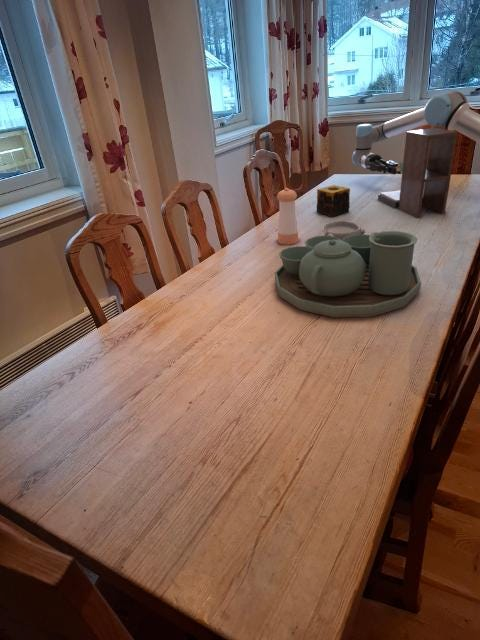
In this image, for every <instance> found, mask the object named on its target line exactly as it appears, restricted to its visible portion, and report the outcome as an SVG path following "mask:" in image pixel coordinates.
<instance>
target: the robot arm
mask: <svg viewBox="0 0 480 640" xmlns="http://www.w3.org/2000/svg"><path fill="white" fill-rule="evenodd" d="M425 126H432V127H441V129H444V130H451V131H457V132H458V133H460V134H462V135H464V136H466V137H467V138H469V139H470V140H473V141H474V142H476V143H478V144H480V113H478V112H476V111H474V110H472V109H471V108H470V104H469V103H468V98H467V96H466V95H465V94H464V93H462V92H461V91H458V90H455V91H450V92H449V91H448V92H444V93H437V94H436V95H434V96H432V97H431V98H430V99H429V100H428V101H427V102H426V104H425V106H424V107H423V108H420V109H417V110H415V111H413V112H410V113H407V114H404V115H402V116H399V117H397V118H394V119H391V120H389V121H386V122H383V123H380V124H377V125H375V126H373V124H372V123H363V124H358V125H357V126H356V131H355V151H353V153H352V155H351V162H352V163H353V165H355V166H357V167H360V168H363V169H366V170H367V171H370V172H379V173H383V174H386V173H389V174H391V175H397V174H398V175H400V174H401V175H402V171H396V168H395V167H400V165H399V163H397V162H396V161H393V160H392V159H390V160H388V161H387V160H384V159H383V158H382V156H381V155H380V154H376V153H374V152H372V146H373V145H372V144H374V143H378V142H383V141H385V140H387V139H390V138H393V137H396V136H399V135H401V134H404V133H405V134H406V132H407V131H415V130H418V129H420V128H423V127H425Z"/></svg>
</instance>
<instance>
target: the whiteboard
mask: <svg viewBox="0 0 480 640" xmlns="http://www.w3.org/2000/svg"><path fill="white" fill-rule="evenodd" d="M400 190H401V189H398V190H391V191H390V190H389V191H384V192H383V191H382V192H379V194H378V195H377V200H378V201H379V202H381V203H383V204H386V205H388V206H389V207H392V208H393V209H399V199H400ZM422 201H423V198H422Z"/></svg>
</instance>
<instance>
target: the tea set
mask: <svg viewBox="0 0 480 640" xmlns="http://www.w3.org/2000/svg"><path fill="white" fill-rule="evenodd" d="M417 242H418V237H417V236H415V234H412V233H409V232H406V231H398V230H387V231H386V230H385V231H383V230H382V231H379V232H378V231H377V232H375V231H374V232H370V234H364V235H352V236H349V237H344V238H343V241H342V240H340V239H339V238H337V237H332V236H323V235H318V236H312V237H310V238H307V239H306V240H305V242H304V244H305V246H303V245H302V246H301V245H297V246H289V247H287V248H284V249H282V250H281V251H280V252H279V254H278V255H279V258H280V260H281V262H282V264H281V266H280V267H279V268H278V269H277V270H276V271H275V272H274V280H275V284H276V291H277V294H278V296H279V297H280V298H281V299H282V300H285V302H287V303H289V304H290V305H292V306H294V307H295V308H297V309H298V310H300V311H304V312H308V313H314V314H317V315H321V316H322V315H323V316H327V317H331V318H359V317H360V318H361V317H363V318H364V317H365V318H366V317H375V316H378V315H381V314H385V313H388V312H391V311H394V310H398V309H401V308H404V307H406V305H407V304H408V303H409V302H410V301H411V300H412V299H414V297H415V296H416V295H417V294H418V293H419V292H420V290H421V286H422V282H421V278H420V275H419V271H418V268H417V267H416V266H414V265H413V258H414V250H415V245H416V244H417Z"/></svg>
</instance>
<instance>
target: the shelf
mask: <svg viewBox="0 0 480 640" xmlns="http://www.w3.org/2000/svg"><path fill="white" fill-rule="evenodd" d="M458 133H459V132H458V131H456V130H453V131H451V130H446V129H444V128H436V127H432V128H423V129H414V130H411V131H407V132H405V142H404V151H403V161H402V162H403V170H402V171H401V181H400V189H399V190H400V199H399V208H398V209H399V210H401V211H403V212H405V213H407V214H409V215H411V216H413V217H414V218H415V217H416V218H421V213H422V207H423V206H424V207H425V208H428V209H430V210H432V211H435V212H438V213H439V214H441V215H444V214H446V210H447V209H446V208H447V201H448V196H449V189H450V184H451V178H452V170H453V165H454V159H455V152H456V146H457V139H458ZM422 198H423V201H422Z"/></svg>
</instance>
